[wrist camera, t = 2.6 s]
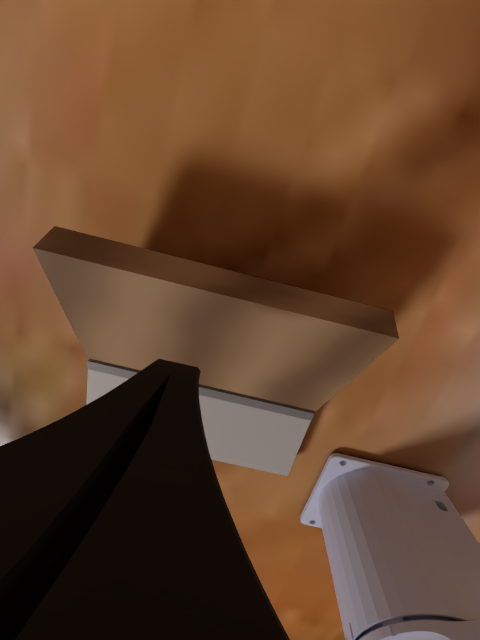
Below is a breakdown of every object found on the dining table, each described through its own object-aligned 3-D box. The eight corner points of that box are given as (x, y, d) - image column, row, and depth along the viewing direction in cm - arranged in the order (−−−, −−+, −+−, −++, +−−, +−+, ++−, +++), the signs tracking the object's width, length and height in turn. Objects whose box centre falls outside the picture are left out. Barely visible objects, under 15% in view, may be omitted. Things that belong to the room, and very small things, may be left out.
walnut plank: (392, 311, 13) (399, 338, 12) (316, 390, 19) (316, 411, 18) (54, 226, 12) (32, 247, 11) (98, 338, 19) (87, 358, 18)
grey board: (310, 398, 20) (314, 413, 19) (285, 459, 22) (287, 477, 21) (100, 349, 19) (87, 361, 18) (96, 417, 22) (84, 432, 20)
